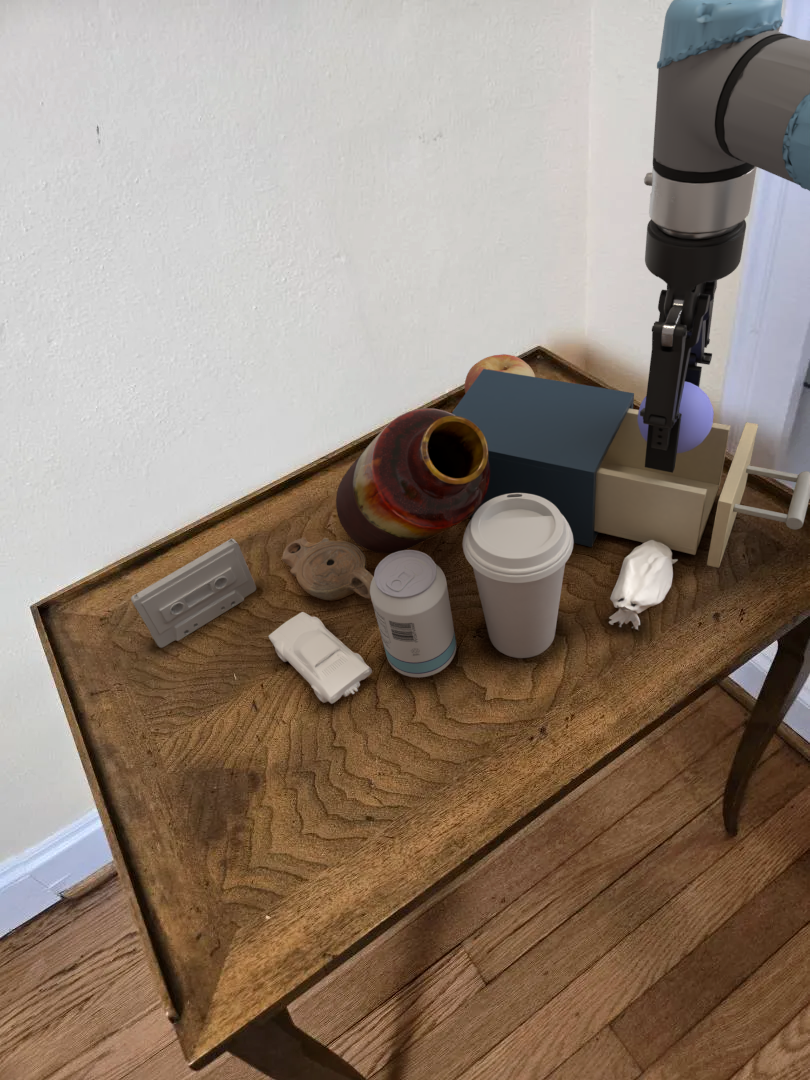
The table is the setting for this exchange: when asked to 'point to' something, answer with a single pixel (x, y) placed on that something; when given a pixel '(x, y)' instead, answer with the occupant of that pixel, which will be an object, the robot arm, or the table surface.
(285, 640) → the toy car
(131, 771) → the table surface
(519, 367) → the apple
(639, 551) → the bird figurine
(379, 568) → the beverage can
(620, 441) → the drawer
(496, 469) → the cabinet
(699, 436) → the sphere
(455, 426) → the vase
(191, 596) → the cassette
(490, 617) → the coffee cup
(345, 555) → the oil lamp
